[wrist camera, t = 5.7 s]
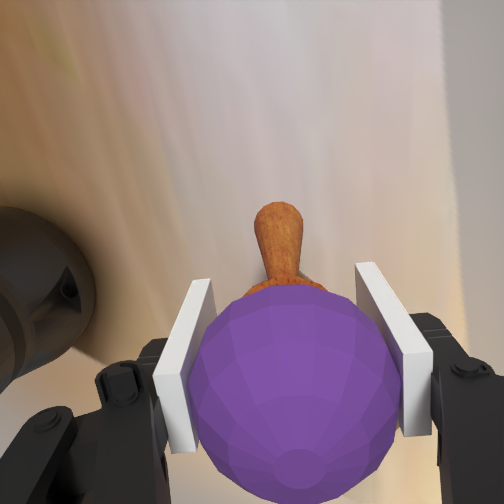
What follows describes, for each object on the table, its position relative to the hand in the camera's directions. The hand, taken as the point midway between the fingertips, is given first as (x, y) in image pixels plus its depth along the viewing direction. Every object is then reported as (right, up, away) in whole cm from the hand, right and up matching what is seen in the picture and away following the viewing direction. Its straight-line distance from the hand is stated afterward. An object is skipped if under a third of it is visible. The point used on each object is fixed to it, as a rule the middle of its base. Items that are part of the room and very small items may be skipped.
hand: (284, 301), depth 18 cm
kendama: (0, +4, +11) cm, 12 cm away
